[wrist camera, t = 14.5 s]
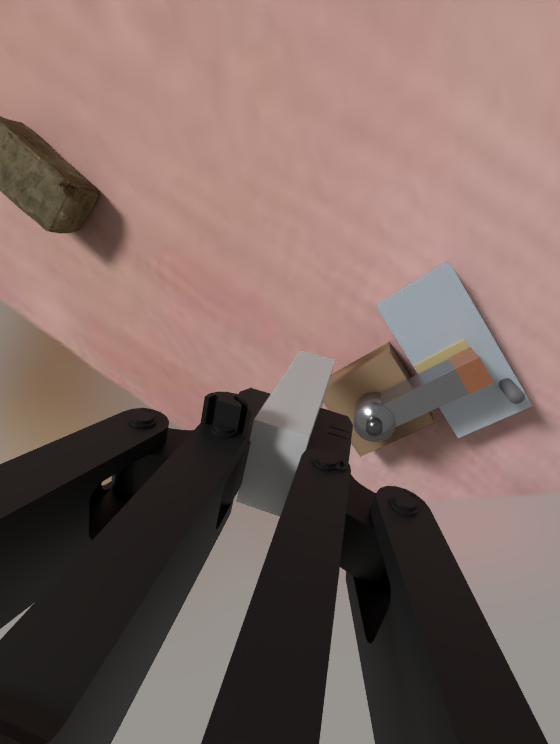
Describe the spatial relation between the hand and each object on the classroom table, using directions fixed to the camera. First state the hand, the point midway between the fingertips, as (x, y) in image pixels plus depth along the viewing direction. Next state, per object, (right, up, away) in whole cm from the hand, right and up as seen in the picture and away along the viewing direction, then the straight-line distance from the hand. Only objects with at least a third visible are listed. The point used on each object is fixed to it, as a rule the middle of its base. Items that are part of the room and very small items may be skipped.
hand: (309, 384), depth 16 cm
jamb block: (+9, -2, +25) cm, 27 cm away
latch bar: (+11, -1, +20) cm, 23 cm away
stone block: (-26, +21, +26) cm, 42 cm away
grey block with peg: (+15, +3, +22) cm, 27 cm away
